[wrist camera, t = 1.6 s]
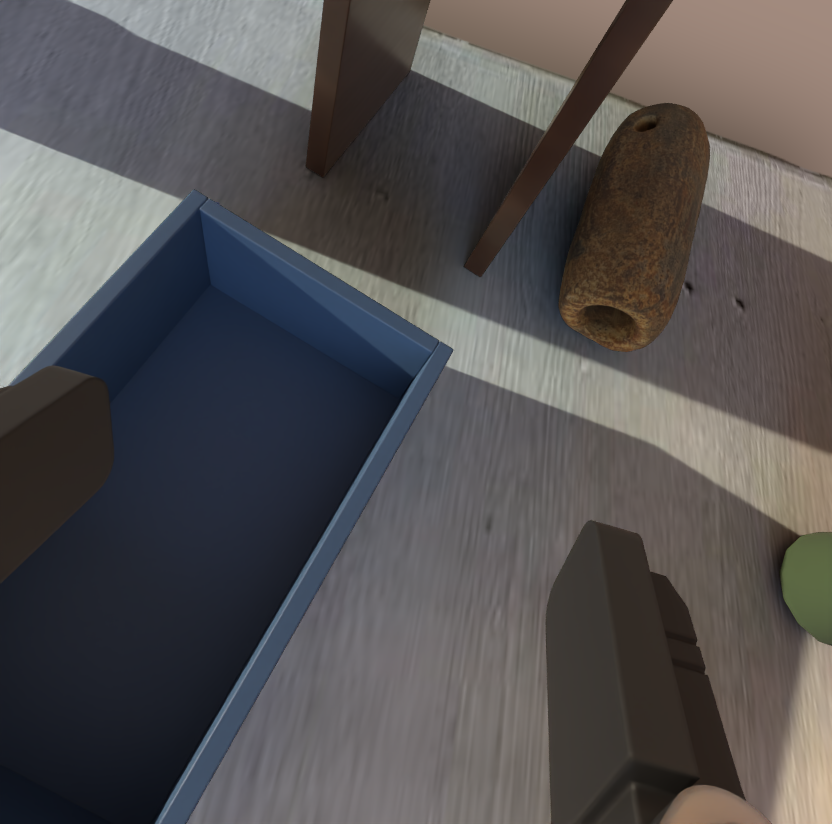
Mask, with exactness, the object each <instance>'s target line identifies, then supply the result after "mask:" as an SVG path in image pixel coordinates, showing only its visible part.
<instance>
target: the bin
mask: <svg viewBox="0 0 832 824" xmlns="http://www.w3.org/2000/svg"><path fill="white" fill-rule="evenodd" d="M452 352H453V349H452V348H451V347H449V346H447V345H446V344H444V343H442V342H439V340H437V339H436V338H434V337H433V336H431V335H429V334H428V333H426V332H424V331H423V330H421V329H420V328H418V327H416V326H415V325H413V324H412V323H410V322H408V321H407V320H405V319H403V318H402V317H400V316H399V315H397V314H395V313H394V312H392V311H391V310H389V309H387V308H386V307H384V306H382V305H381V304H379V303H378V302H376V301H374V300H373V299H371V298H370V297H368V296H366V295H365V294H363V293H361V292H360V291H358V290H357V289H355V288H353V287H352V286H350V285H349V284H347V283H345V282H344V281H342V280H340V279H339V278H337V277H336V276H334V275H332V274H331V273H329V272H328V271H326V270H324V269H323V268H321V267H319V266H318V265H316V264H315V263H313V262H311V261H310V260H308V259H307V258H305V257H303V256H302V255H300V254H298V253H297V252H295V251H294V250H292V249H290V248H289V247H287V246H286V245H284V244H282V243H281V242H279V241H277V240H276V239H274V238H273V237H271V236H269V235H268V234H266V233H265V232H263V231H261V230H260V229H258V228H256V227H255V226H253V225H252V224H250V223H248V222H247V221H245V220H244V219H242V218H240V217H239V216H237V215H235V214H234V213H232V212H231V211H229V210H227V209H226V208H224V207H223V206H221V205H219V204H218V203H216V202H214V201H213V200H211V199H208V197H206V196H205V195H203V194H202V193H200V192H198V191H197V190H195V189H194V190H192V192H191V193H190V194H189V195H188V196H187V197H186V198H185V199H184V200H183V201H182V202H181V203H180V204H179V205H178V206H177V207H176V208H175V210H174V211H173V212H172V213H171V214H170V215H169V216H168V217H167V218H166V219H165V220H164V221H163V222H162V223H161V224H160V225H159V226H158V227H157V229H156V230H155V231H154V232H153V233H152V234H151V235H150V236H149V237H148V238H147V239H146V240H145V241H144V242H143V243H142V244H141V245H140V247H139V248H138V249H137V250H136V251H135V252H134V253H133V254H132V255H131V256H130V257H129V258H128V259H127V260H126V261H125V262H124V263H123V265H122V266H121V267H120V268H119V269H118V270H117V271H116V272H115V273H114V274H113V275H112V276H111V277H110V278H109V279H108V280H107V281H106V283H105V284H104V285H103V286H102V287H101V288H100V289H99V290H98V291H97V292H96V293H95V294H94V295H93V296H92V297H91V298H90V299H89V301H88V302H87V303H86V304H85V305H84V306H83V307H82V308H81V309H80V310H79V311H78V312H77V313H76V314H75V315H74V316H73V317H72V318H71V320H70V321H69V322H68V323H67V324H66V325H65V326H64V327H63V328H62V329H61V330H60V331H59V332H58V333H57V334H56V335H55V336H54V338H53V339H52V340H51V341H50V342H49V343H48V344H47V345H46V346H45V347H44V348H43V349H42V350H41V351H40V352H39V353H38V354H37V356H36V357H35V358H34V359H33V360H32V361H31V362H30V363H29V364H28V365H27V366H26V367H25V368H24V369H23V370H22V371H21V372H20V374H19V375H18V376H17V377H16V378H15V379H14V380H13V381H12V382H11V383H10V384H9V385H8V386H14V385H16V384H17V383H19V382H21V381H23V380H24V379H26V378H28V377H29V376H31V375H33V374H34V373H36V372H38V371H39V370H41V369H43V368H45V367H47V366H54V365H55V366H59V367H63V368H66V369H70V370H73V371H77V372H80V373H84V374H87V375H91V376H94V377H98V378H101V379H102V380H103V381H104V382H105V383H106V385H107V387H108V391H109V400H110V410H111V421H112V432H113V443H114V462H113V466H112V469H111V472H110V474H109V476H108V478H107V480H106V482H105V483H104V485H103V486H102V487H101V488H100V489H99V490H98V491H97V492H96V493H95V494H94V495H93V496H92V497H91V498H90V499H89V500H88V501H87V502H86V503H85V504H84V505H83V506H82V507H81V508H80V509H79V510H77V511H76V512H75V513H74V514H73V515H72V516H71V517H70V518H69V519H68V520H67V521H66V522H65V523H64V524H63V525H62V526H61V527H60V528H59V529H58V530H56V531H55V532H54V533H53V534H52V535H51V536H50V537H49V538H48V539H47V540H46V541H45V542H44V543H43V544H42V545H41V546H40V547H39V548H38V549H37V550H35V551H34V552H33V553H32V554H31V555H30V556H29V557H28V558H27V559H26V560H25V561H24V562H23V563H22V564H21V565H20V566H19V567H18V568H17V569H16V570H14V571H13V572H12V573H11V574H10V575H9V576H8V577H7V578H6V579H5V580H4V581H3V582H2V583H1V584H0V824H186V823H187V821H188V820H189V818H190V816H191V814H192V812H193V811H194V809H195V807H196V805H197V804H198V802H199V800H200V798H201V797H202V795H203V793H204V791H205V789H206V788H207V786H208V784H209V782H210V781H211V779H212V777H213V775H214V774H215V772H216V770H217V768H218V766H219V765H220V763H221V761H222V759H223V758H224V756H225V754H226V752H227V751H228V749H229V747H230V745H231V743H232V742H233V740H234V738H235V736H236V735H237V733H238V731H239V729H240V728H241V726H242V724H243V722H244V720H245V719H246V717H247V715H248V713H249V712H250V710H251V708H252V706H253V705H254V703H255V701H256V699H257V697H258V696H259V694H260V692H261V690H262V689H263V687H264V685H265V683H266V682H267V680H268V678H269V676H270V674H271V673H272V671H273V669H274V667H275V666H276V664H277V662H278V660H279V659H280V657H281V655H282V653H283V651H284V650H285V648H286V646H287V644H288V643H289V641H290V639H291V637H292V636H293V634H294V632H295V630H296V628H297V627H298V625H299V623H300V621H301V620H302V618H303V616H304V614H305V613H306V611H307V609H308V607H309V605H310V604H311V602H312V600H313V598H314V597H315V595H316V593H317V591H318V590H319V588H320V586H321V584H322V582H323V581H324V579H325V577H326V575H327V574H328V572H329V570H330V568H331V567H332V565H333V563H334V561H335V559H336V558H337V556H338V554H339V552H340V551H341V549H342V547H343V545H344V544H345V542H346V540H347V538H348V536H349V535H350V533H351V531H352V529H353V528H354V526H355V524H356V522H357V521H358V519H359V517H360V515H361V513H362V512H363V510H364V508H365V506H366V505H367V503H368V501H369V499H370V498H371V496H372V494H373V492H374V490H375V489H376V487H377V485H378V483H379V482H380V480H381V478H382V476H383V475H384V473H385V471H386V469H387V467H388V466H389V464H390V462H391V460H392V459H393V457H394V455H395V453H396V452H397V450H398V448H399V446H400V444H401V443H402V441H403V439H404V437H405V436H406V434H407V432H408V430H409V429H410V427H411V425H412V423H413V421H414V420H415V418H416V416H417V414H418V413H419V411H420V409H421V407H422V406H423V404H424V402H425V400H426V398H427V397H428V395H429V393H430V391H431V390H432V388H433V386H434V384H435V383H436V381H437V379H438V377H439V375H440V374H441V372H442V370H443V368H444V367H445V365H446V363H447V361H448V360H449V358H450V356H451V354H452Z"/></svg>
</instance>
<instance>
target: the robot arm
mask: <svg viewBox="0 0 832 824" xmlns="http://www.w3.org/2000/svg"><path fill="white" fill-rule="evenodd" d="M113 462H114V443H113V432H112V421H111V410H110V400H109V391H108V387H107V385H106V383H105V382H104V381H103V380H102V379H101V378H98V377H94V376H91V375H87V374H84V373H80V372H77V371H73V370H70V369H66V368H63V367H59V366H55V365H54V366H47V367H45V368H43V369H41V370H39V371H38V372H36V373H34V374H33V375H31V376H29V377H28V378H26V379H24V380H23V381H21V382H19V383H17V384H16V385H14V386H7V387H4V388H0V584H1V583H2V582H3V581H4V580H5V579H6V578H7V577H8V576H9V575H10V574H11V573H12V572H13V571H14V570H16V569H17V568H18V567H19V566H20V565H21V564H22V563H23V562H24V561H25V560H26V559H27V558H28V557H29V556H30V555H31V554H32V553H33V552H34V551H35V550H37V549H38V548H39V547H40V546H41V545H42V544H43V543H44V542H45V541H46V540H47V539H48V538H49V537H50V536H51V535H52V534H53V533H54V532H55V531H56V530H58V529H59V528H60V527H61V526H62V525H63V524H64V523H65V522H66V521H67V520H68V519H69V518H70V517H71V516H72V515H73V514H74V513H75V512H76V511H77V510H79V509H80V508H81V507H82V506H83V505H84V504H85V503H86V502H87V501H88V500H89V499H90V498H91V497H92V496H93V495H94V494H95V493H96V492H97V491H98V490H99V489H100V488H101V487H102V486H103V485H104V483H105V482H106V480H107V478H108V476H109V474H110V472H111V469H112V466H113ZM696 642H697V637H696V634H695V631H694V627H693V624H692V621H691V617H690V614H689V611H688V607H687V606H686V604H685V603H684V602H683V600H682V599H681V597H680V596H679V594H678V593H677V591H676V590H675V589H674V587H673V586H672V584H671V583H670V581H669V580H668V578H667V577H666V576H663V575H660V574H656V573H653V572H650V569H649V565H648V561H647V557H646V553H645V549H644V545H643V541H642V538H641V537H640V535H639V534H637V533H634V532H631V531H627V530H624V529H620V528H617V527H613V526H610V525H606V524H603V523H599V522H596V521H592V520H590V521H588V522H587V523H586V524H585V525H584V527H583V528H582V530H581V532H580V534H579V536H578V538H577V540H576V542H575V544H574V545H573V547H572V549H571V551H570V553H569V555H568V557H567V559H566V561H565V563H564V565H563V567H562V569H561V570H560V572H559V574H558V576H557V578H556V580H555V582H554V584H553V587H552V589H551V592H550V596H549V600H548V604H547V611H546V656H547V691H548V727H549V762H550V798H551V824H772V823H771V822H770V821H769V820H768V819H767V818H766V817H765V816H764V815H763V814H762V813H761V812H759V811H758V810H757V809H756V808H754V807H753V806H752V805H751V804H749V803H748V802H746V799H745V797H744V794H743V791H742V788H741V785H740V782H739V778H738V775H737V772H736V768H735V765H734V762H733V758H732V755H731V752H730V748H729V745H728V741H727V738H726V735H725V731H724V728H723V725H722V721H721V718H720V715H719V711H718V708H717V705H716V701H715V698H714V694H713V691H712V688H711V684H710V681H709V678H708V675H705V664H704V661H703V658H702V654H701V651H700V647H698V646H696Z"/></svg>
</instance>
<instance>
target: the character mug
mask: <svg viewBox="0 0 832 824" xmlns="http://www.w3.org/2000/svg"><path fill="white" fill-rule="evenodd" d="M779 573H780V579H781V586H782V592H783V599H784V600H785V602H786V604H787V605H788V607H789V609H790V610H791V612H792V614H793V616H794V617H795V619H796V621H797V622H798V624H799V625H801V626H802V627H803V628H804V629H805V630H806V631H808V632H809V633H810V634H811V635H812V636H813V637H815V638H816V639H817V640H818V641H819V642H822V643H825V644H828V645H831V646H832V532H818V533H813V534H808V535H803V536H800V537H799V538H798V539H797V540H796V541H795V542H794V543H793V544H792V545H791V546H790V547H789V548H788V549H787V550H786V553H785V556H784V559H783V562H782V566H781V569H780V572H779Z"/></svg>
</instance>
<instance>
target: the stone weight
mask: <svg viewBox="0 0 832 824" xmlns="http://www.w3.org/2000/svg"><path fill="white" fill-rule="evenodd" d="M709 160H710V145H709V141H708V137H707V134H706V130H705V127H704V124H703V122H702V121H701V119H700V118H699V116H698V115H697V114H696V113H695V112H693V111H692V110H690V109H689V108H687V107H684V106H681V105H677V104H672V103H663V104H656V105H652V106H648V107H645V108H642V109H640V110H637V111H635V112H634V113H632V114H630V115H629V116H628V117H627V118H626V119H625V120H624V121H623V122H622V124H621V125H620V126H619V127H618V129H617V130H616V132H615V133H614V134H613V136H612V138H611V139H610V141H609V143H608V145H607V147H606V148H605V150H604V152H603V155H602V157H601V159H600V161H599V164H598V167H597V169H596V172H595V175H594V178H593V180H592V184H591V186H590V189H589V192H588V195H587V198H586V201H585V204H584V207H583V210H582V214H581V217H580V220H579V223H578V226H577V229H576V232H575V235H574V238H573V240H572V244H571V246H570V249H569V253H568V256H567V261H566V264H565V270H564V274H563V280H562V284H561V289H560V297H559V310H560V314H561V316H562V319H563V320H564V321H565V323H566V324H567V325H568V326H569V327H571V328H572V329H574V330H575V331H577V332H579V333H581V334H582V335H584V336H585V337H587V338H589V339H591V340H593V341H595V342H597V343H598V344H600V345H602V346H604V347H606V348H608V349H610V350H613V351H622V352H629V351H632V350H636V349H641V348H643V347H645V346H647V345H649V344H650V343H651V342H652V341H654V340H655V339H656V338H657V337H658V336H659V334H660V333H661V332H662V331H663V329H664V328H665V326H666V325H667V323H668V321H669V320H670V318H671V316H672V314H673V312H674V309H675V307H676V304H677V302H678V298H679V295H680V292H681V288H682V285H683V282H684V278H685V274H686V269H687V265H688V260H689V255H690V251H691V246H692V241H693V237H694V232H695V228H696V224H697V220H698V217H699V212H700V208H701V203H702V199H703V195H704V190H705V185H706V181H707V175H708V169H709Z"/></svg>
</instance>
